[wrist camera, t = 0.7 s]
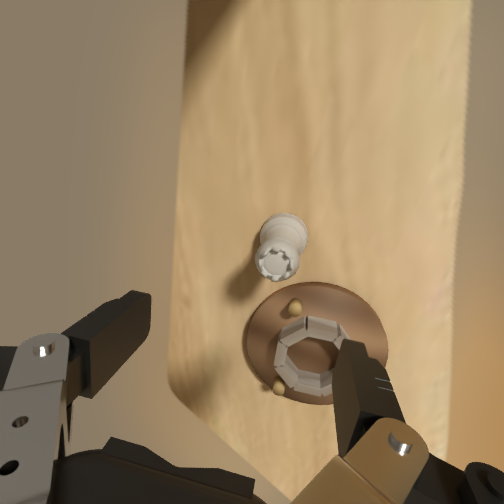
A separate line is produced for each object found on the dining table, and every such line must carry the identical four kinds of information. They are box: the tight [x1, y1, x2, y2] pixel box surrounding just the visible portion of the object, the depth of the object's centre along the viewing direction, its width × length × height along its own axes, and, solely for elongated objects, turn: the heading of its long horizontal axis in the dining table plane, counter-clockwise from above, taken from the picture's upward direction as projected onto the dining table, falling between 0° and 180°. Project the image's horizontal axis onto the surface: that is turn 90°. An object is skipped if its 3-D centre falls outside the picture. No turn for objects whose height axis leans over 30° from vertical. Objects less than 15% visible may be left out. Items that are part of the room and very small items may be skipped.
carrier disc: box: [246, 282, 388, 405], centre depth 30 cm, size 14×14×3 cm
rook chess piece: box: [255, 213, 308, 282], centre depth 24 cm, size 4×4×8 cm
